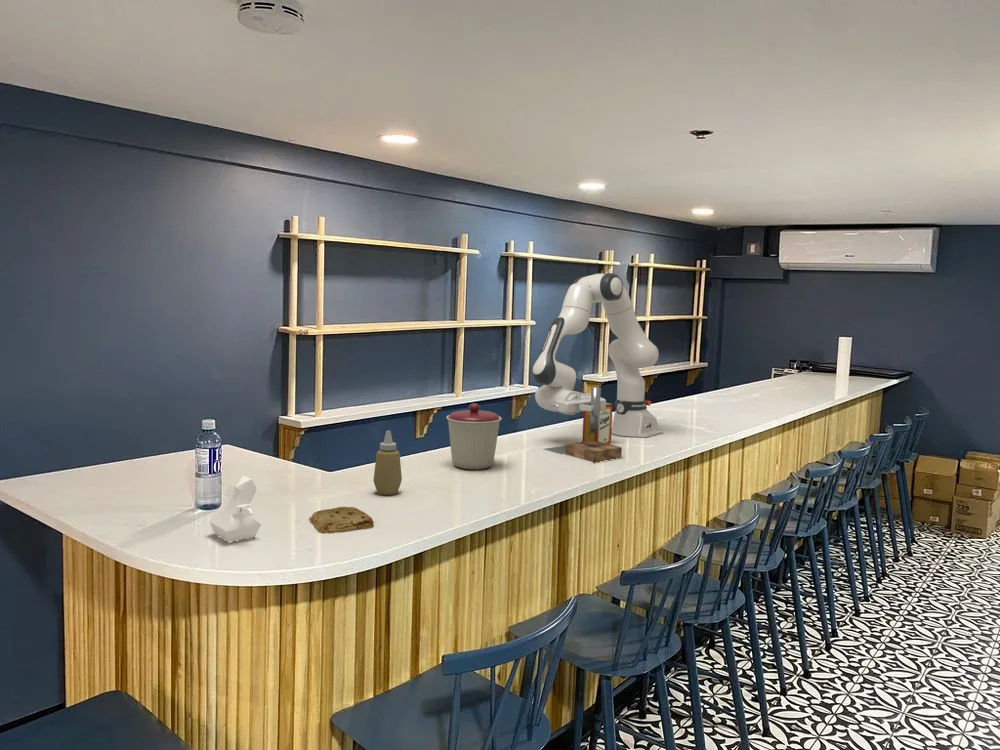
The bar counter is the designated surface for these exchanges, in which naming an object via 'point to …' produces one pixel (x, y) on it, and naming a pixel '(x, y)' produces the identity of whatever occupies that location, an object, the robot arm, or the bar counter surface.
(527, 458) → the bar counter surface
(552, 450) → the mat
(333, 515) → the pastry
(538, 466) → the bar counter surface
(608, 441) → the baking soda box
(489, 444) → the canister
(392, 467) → the squeeze bottle
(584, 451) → the hole block
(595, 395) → the pin
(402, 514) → the bar counter surface
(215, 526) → the white faceted figurine
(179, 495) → the bar counter surface
